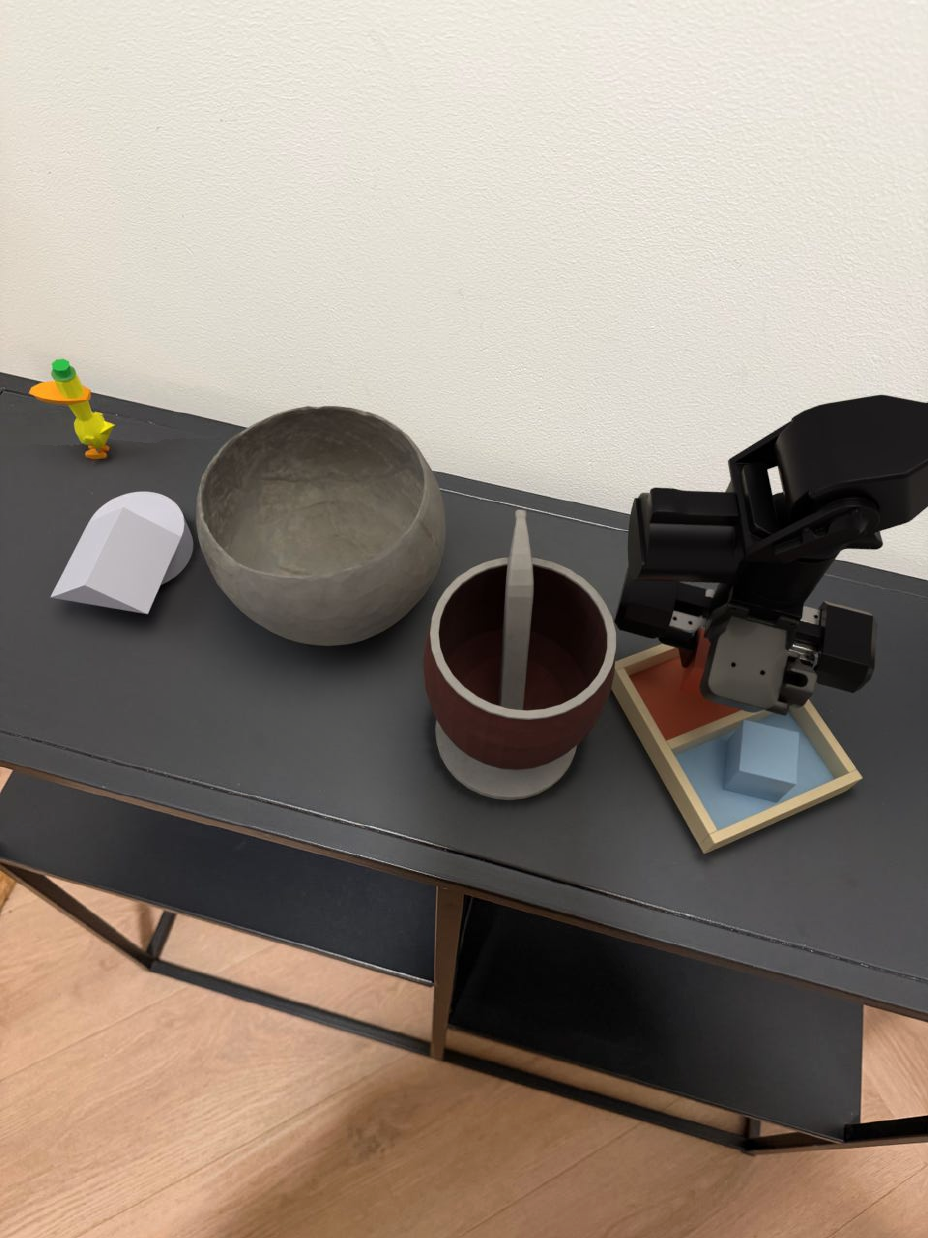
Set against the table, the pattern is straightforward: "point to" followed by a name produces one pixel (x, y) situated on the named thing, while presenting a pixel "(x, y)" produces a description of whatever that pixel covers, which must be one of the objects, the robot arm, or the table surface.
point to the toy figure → (76, 407)
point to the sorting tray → (720, 750)
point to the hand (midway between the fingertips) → (713, 670)
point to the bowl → (322, 524)
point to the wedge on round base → (127, 553)
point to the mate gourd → (517, 671)
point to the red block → (696, 666)
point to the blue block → (761, 761)
